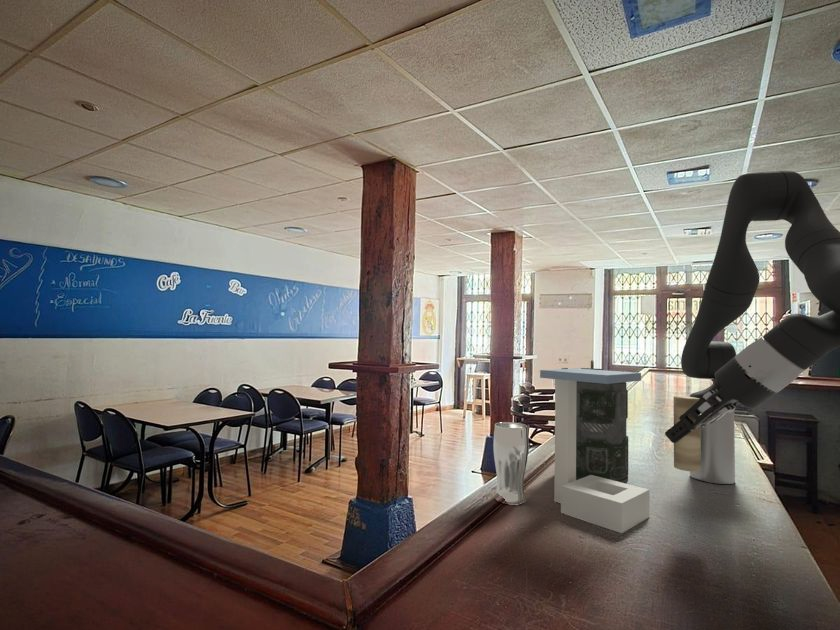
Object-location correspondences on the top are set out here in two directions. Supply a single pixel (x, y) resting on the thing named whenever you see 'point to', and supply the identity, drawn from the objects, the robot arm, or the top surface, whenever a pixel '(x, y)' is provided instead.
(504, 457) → the beer glass
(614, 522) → the kiosk
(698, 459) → the peg
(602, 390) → the canister
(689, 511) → the top surface
